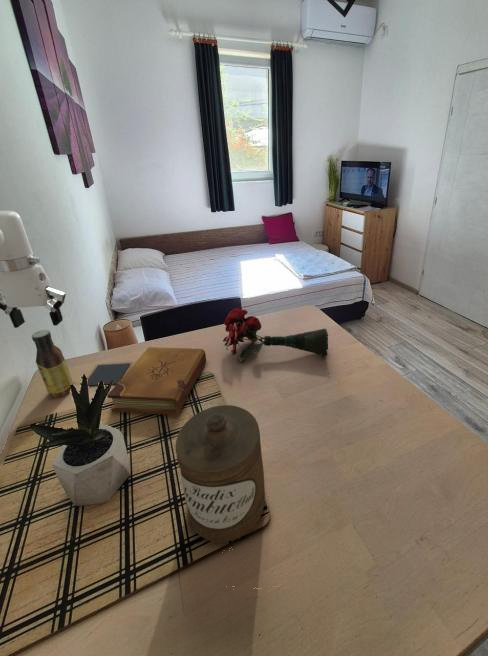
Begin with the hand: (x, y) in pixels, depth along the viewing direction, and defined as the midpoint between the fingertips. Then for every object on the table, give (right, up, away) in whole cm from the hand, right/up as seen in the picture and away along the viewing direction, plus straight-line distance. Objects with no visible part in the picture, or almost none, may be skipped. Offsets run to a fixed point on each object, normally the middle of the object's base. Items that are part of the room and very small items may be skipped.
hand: (39, 324), depth 86 cm
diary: (+29, -20, +11) cm, 37 cm away
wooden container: (+54, -33, -22) cm, 67 cm away
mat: (+10, -18, +16) cm, 25 cm away
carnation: (+62, -12, +27) cm, 68 cm away
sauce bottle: (0, -21, +9) cm, 23 cm away
